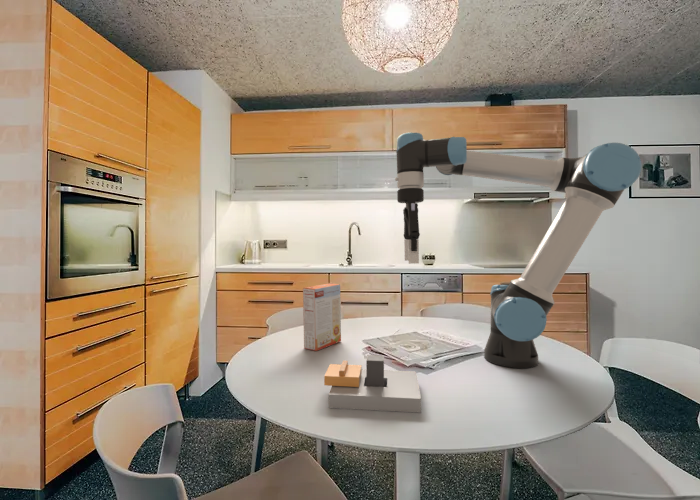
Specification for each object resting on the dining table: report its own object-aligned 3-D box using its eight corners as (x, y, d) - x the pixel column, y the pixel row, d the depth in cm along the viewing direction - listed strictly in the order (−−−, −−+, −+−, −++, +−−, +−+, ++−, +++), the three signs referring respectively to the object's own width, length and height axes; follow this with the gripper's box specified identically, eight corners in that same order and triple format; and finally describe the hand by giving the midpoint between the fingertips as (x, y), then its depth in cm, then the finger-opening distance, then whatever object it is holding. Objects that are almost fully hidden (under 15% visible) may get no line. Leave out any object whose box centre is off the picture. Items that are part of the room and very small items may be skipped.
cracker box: (328, 339, 134) (328, 282, 134) (341, 341, 131) (341, 283, 130) (302, 348, 123) (302, 286, 122) (315, 351, 119) (315, 288, 119)
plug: (383, 392, 88) (383, 355, 88) (383, 399, 84) (383, 361, 84) (367, 391, 89) (367, 354, 88) (366, 398, 85) (366, 360, 84)
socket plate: (415, 382, 94) (415, 371, 94) (421, 412, 78) (421, 398, 78) (339, 379, 96) (338, 368, 96) (328, 407, 80) (328, 394, 80)
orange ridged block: (361, 373, 91) (361, 360, 91) (358, 386, 83) (358, 372, 83) (330, 372, 92) (330, 359, 92) (324, 385, 84) (324, 370, 84)
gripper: (395, 194, 118) (395, 259, 119) (400, 182, 93) (401, 265, 94) (418, 193, 118) (419, 259, 118) (429, 181, 93) (430, 264, 93)
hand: (411, 262), depth 106 cm, fingers open, 13 cm apart
